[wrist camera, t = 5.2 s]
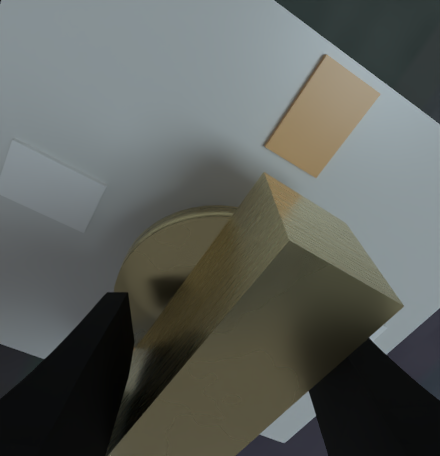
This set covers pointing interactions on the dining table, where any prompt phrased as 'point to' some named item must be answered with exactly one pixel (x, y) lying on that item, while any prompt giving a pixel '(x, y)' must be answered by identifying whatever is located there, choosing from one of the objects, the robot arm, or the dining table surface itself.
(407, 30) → the dining table surface
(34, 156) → the lock plate
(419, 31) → the dining table surface
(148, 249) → the door handle
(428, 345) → the dining table surface
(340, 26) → the dining table surface
